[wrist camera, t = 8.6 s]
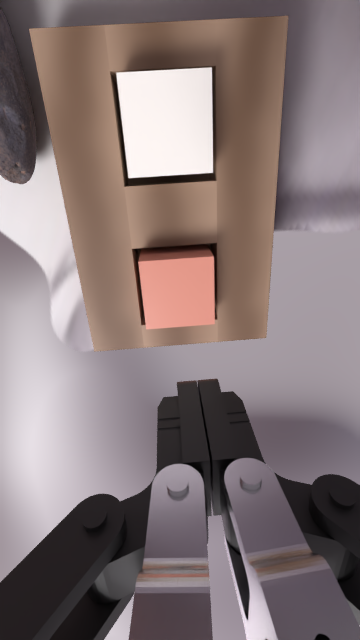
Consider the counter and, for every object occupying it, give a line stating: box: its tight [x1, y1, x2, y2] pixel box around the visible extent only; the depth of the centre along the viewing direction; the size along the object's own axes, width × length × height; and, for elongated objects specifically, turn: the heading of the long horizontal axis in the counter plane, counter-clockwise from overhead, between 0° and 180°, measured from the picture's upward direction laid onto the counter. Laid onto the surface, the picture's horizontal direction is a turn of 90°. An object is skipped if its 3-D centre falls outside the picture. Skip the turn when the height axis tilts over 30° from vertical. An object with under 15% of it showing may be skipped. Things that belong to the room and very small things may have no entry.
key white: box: [116, 67, 213, 178], centre depth 19 cm, size 5×5×4 cm
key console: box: [29, 16, 288, 351], centre depth 23 cm, size 14×20×4 cm
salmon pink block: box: [138, 244, 215, 329], centre depth 23 cm, size 5×5×4 cm
